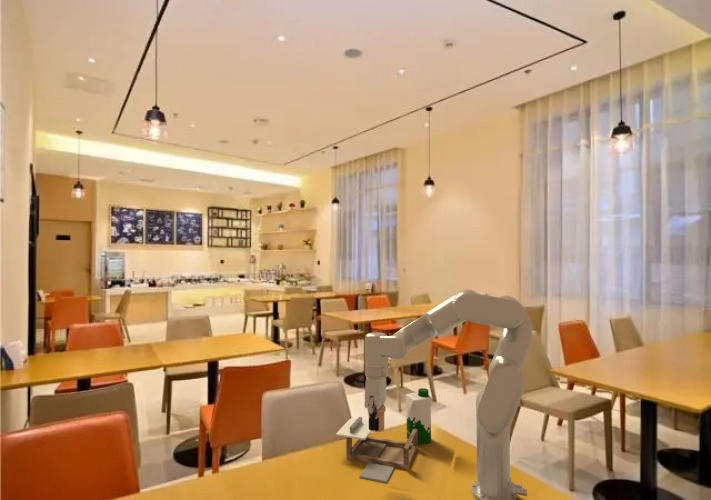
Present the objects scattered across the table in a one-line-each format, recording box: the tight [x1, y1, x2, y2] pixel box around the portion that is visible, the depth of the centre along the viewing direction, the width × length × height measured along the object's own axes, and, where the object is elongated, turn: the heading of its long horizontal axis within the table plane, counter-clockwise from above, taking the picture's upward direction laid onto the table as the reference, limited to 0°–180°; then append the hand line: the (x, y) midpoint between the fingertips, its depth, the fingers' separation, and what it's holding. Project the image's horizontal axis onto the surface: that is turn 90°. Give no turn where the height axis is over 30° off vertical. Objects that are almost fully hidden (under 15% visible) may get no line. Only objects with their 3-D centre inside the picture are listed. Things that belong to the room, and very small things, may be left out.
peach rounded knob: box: [366, 404, 386, 433], centre depth 132 cm, size 6×6×7 cm
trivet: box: [359, 462, 395, 484], centre depth 131 cm, size 9×9×2 cm
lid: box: [335, 416, 373, 440], centre depth 148 cm, size 11×15×3 cm
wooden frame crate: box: [345, 429, 419, 471], centre depth 145 cm, size 22×16×8 cm
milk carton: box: [405, 387, 433, 446], centre depth 155 cm, size 9×9×20 cm
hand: (376, 425), depth 132 cm, fingers closed on peach rounded knob, 5 cm apart
